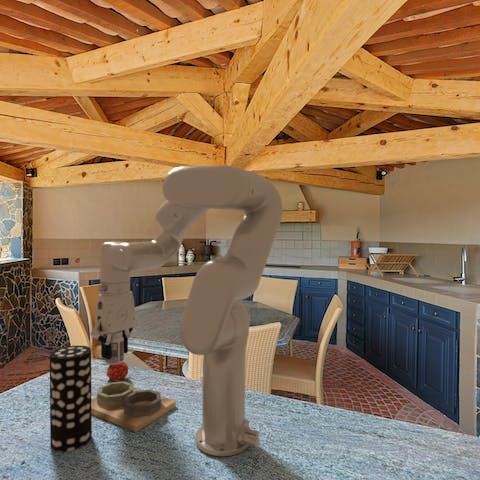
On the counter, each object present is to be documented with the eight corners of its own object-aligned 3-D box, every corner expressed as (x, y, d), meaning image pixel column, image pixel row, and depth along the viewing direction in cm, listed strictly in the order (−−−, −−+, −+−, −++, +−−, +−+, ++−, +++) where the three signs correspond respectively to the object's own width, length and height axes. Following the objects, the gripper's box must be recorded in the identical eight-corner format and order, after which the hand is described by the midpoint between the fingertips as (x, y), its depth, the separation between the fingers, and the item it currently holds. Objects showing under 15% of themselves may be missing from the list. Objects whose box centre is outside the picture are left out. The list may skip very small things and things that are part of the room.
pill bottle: (117, 357, 100) (117, 327, 100) (127, 361, 97) (127, 330, 97) (101, 361, 97) (101, 330, 96) (111, 366, 94) (111, 334, 93)
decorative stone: (119, 381, 116) (136, 376, 113) (102, 386, 111) (119, 380, 107) (115, 361, 118) (132, 355, 115) (98, 365, 112) (115, 359, 109)
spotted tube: (52, 434, 82) (51, 348, 82) (91, 426, 86) (90, 343, 85) (48, 455, 75) (47, 360, 74) (91, 446, 78) (91, 355, 77)
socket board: (175, 406, 96) (175, 391, 96) (136, 432, 84) (136, 415, 84) (123, 389, 106) (123, 375, 106) (81, 409, 94) (80, 394, 94)
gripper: (97, 294, 87) (97, 368, 88) (148, 285, 102) (147, 348, 102) (78, 291, 91) (77, 362, 92) (129, 282, 105) (129, 344, 106)
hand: (114, 354), depth 97 cm, fingers closed on pill bottle, 4 cm apart
